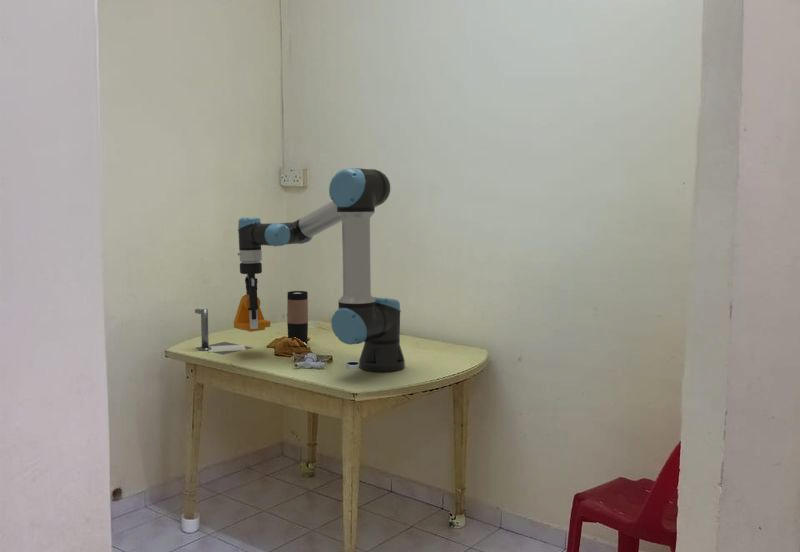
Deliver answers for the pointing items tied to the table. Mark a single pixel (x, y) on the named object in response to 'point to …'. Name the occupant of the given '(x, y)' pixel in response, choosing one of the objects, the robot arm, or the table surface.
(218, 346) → the mat
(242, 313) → the bracket
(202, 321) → the grey smooth fixture
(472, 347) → the table surface
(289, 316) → the travel mug
